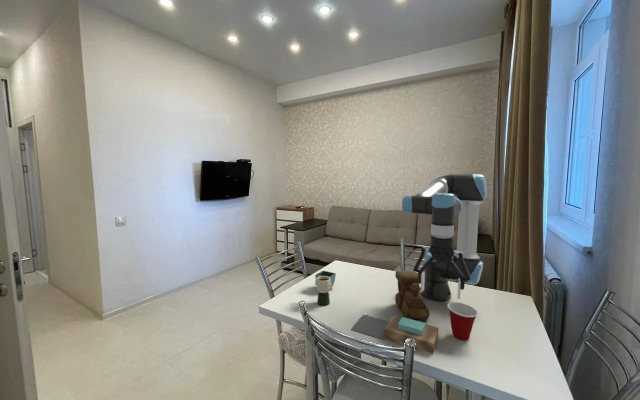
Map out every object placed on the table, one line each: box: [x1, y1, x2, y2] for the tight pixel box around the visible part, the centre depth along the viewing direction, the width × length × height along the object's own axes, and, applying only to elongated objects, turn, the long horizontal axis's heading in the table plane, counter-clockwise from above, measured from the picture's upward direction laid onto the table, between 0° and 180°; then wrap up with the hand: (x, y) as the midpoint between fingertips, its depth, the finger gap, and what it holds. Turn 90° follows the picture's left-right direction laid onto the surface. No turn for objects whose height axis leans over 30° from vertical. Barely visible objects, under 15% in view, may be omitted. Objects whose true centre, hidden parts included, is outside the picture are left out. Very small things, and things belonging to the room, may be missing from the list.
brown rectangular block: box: [384, 315, 439, 355], centre depth 107 cm, size 18×12×4 cm, turn 59°
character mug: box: [314, 276, 333, 306], centre depth 136 cm, size 11×7×13 cm, turn 48°
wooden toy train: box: [394, 270, 431, 320], centre depth 126 cm, size 20×11×17 cm, turn 0°
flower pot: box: [315, 270, 337, 288], centre depth 153 cm, size 9×9×9 cm
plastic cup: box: [447, 301, 479, 342], centre depth 107 cm, size 11×11×12 cm
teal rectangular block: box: [398, 316, 426, 335], centre depth 106 cm, size 9×6×2 cm, turn 59°
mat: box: [350, 314, 390, 341], centre depth 115 cm, size 14×14×1 cm
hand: (440, 293), depth 100 cm, fingers open, 12 cm apart
